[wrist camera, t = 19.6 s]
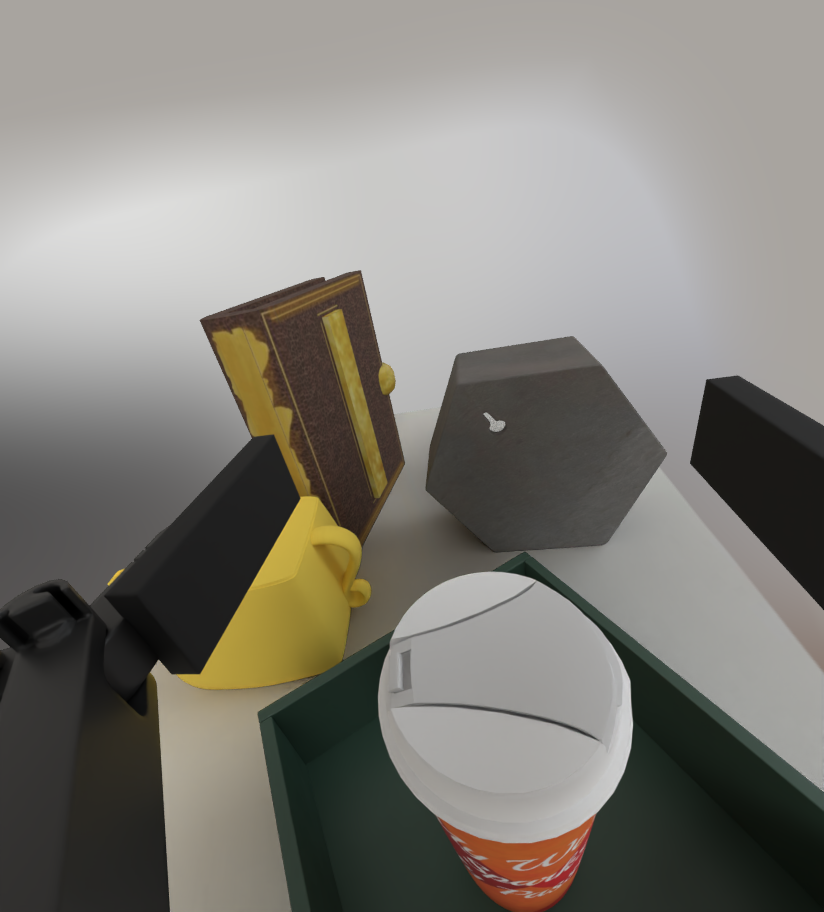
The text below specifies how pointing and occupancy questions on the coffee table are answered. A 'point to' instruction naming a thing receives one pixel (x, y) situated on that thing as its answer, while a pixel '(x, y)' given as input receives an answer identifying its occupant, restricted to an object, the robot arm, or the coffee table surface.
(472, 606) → the coffee cup
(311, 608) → the teapot
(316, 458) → the book
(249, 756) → the coffee table surface
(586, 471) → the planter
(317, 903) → the bin
